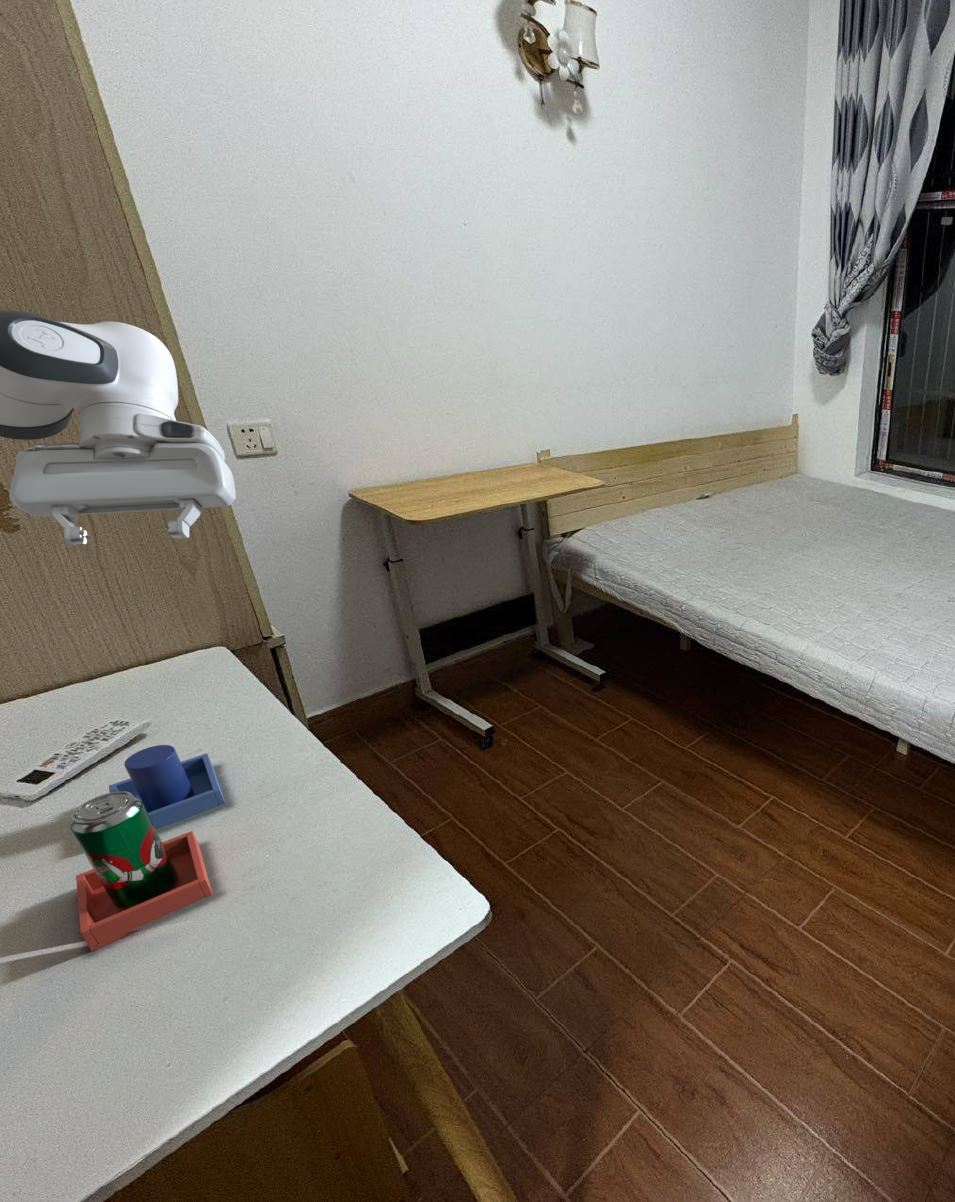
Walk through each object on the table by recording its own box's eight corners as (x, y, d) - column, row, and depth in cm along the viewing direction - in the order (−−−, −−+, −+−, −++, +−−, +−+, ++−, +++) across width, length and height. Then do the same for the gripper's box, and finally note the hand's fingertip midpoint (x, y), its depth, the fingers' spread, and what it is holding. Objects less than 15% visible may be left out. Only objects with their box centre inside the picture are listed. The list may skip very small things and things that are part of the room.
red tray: (91, 951, 63) (80, 933, 62) (86, 893, 69) (75, 875, 68) (214, 897, 69) (205, 879, 68) (200, 847, 75) (192, 830, 74)
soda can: (168, 865, 72) (127, 781, 67) (188, 886, 70) (147, 801, 64) (106, 897, 68) (57, 810, 63) (125, 921, 66) (76, 833, 60)
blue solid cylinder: (138, 817, 78) (115, 771, 74) (157, 792, 81) (136, 747, 78) (184, 810, 79) (163, 765, 76) (200, 786, 83) (181, 742, 80)
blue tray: (123, 845, 74) (114, 827, 73) (117, 802, 80) (108, 785, 79) (226, 806, 81) (219, 789, 79) (214, 769, 86) (207, 752, 85)
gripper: (-2, 430, 76) (-10, 536, 73) (219, 426, 85) (221, 522, 81) (35, 458, 82) (29, 558, 78) (239, 452, 90) (242, 543, 87)
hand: (129, 540), depth 80 cm, fingers open, 8 cm apart
